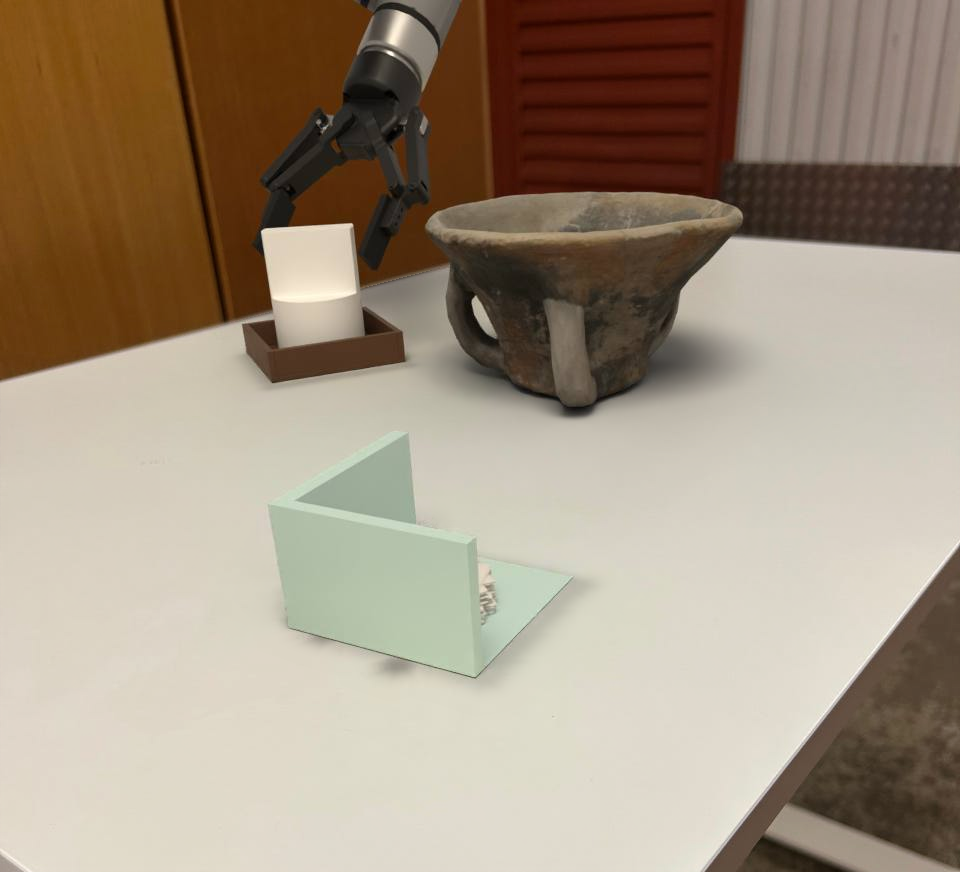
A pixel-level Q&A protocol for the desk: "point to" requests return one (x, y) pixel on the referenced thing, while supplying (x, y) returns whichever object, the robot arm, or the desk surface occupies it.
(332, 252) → the base with upright slab
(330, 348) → the tray
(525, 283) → the bowl
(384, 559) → the l-shaped corner panel
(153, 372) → the desk surface
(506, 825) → the desk surface
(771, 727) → the desk surface
